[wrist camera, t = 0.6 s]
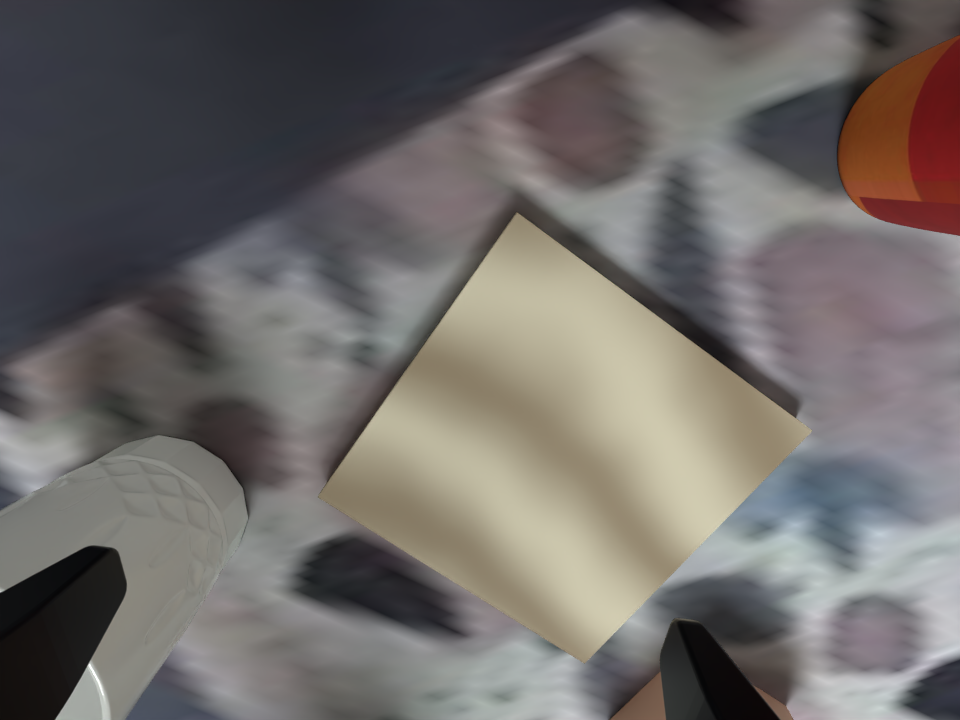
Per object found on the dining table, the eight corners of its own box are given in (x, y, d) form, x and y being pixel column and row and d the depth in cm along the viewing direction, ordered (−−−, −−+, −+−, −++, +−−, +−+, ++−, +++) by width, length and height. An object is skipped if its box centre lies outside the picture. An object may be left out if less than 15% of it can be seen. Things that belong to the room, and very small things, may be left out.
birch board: (580, 642, 26) (584, 663, 25) (326, 482, 24) (317, 497, 23) (796, 418, 22) (812, 430, 21) (516, 211, 21) (517, 212, 19)
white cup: (110, 393, 23) (-164, 528, 14) (285, 464, 24) (138, 640, 14) (73, 539, 26) (-185, 742, 16) (234, 601, 26) (77, 833, 17)
